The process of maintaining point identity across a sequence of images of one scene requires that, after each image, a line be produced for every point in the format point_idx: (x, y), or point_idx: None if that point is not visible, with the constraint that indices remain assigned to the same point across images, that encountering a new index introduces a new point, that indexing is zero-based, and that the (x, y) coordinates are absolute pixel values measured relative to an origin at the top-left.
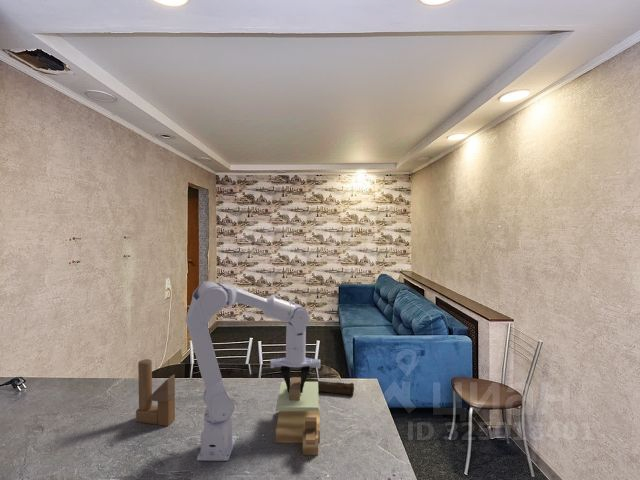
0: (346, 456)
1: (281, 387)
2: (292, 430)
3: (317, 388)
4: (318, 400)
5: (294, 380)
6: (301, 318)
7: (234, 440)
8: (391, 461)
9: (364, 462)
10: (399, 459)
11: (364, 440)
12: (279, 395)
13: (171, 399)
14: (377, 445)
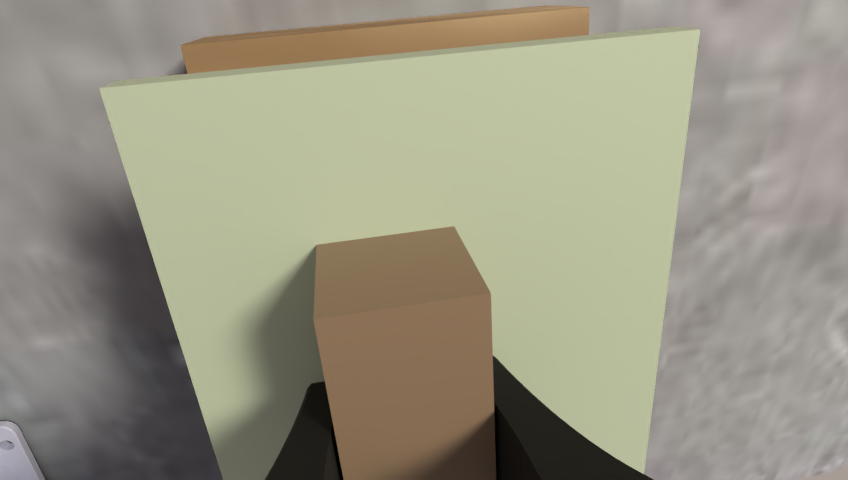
0: (662, 426)
1: (180, 281)
2: None
3: (665, 232)
4: (582, 14)
5: (392, 403)
6: None
7: (24, 464)
8: (842, 416)
9: (730, 442)
10: None
11: (781, 305)
12: (226, 452)
13: None
14: (829, 331)
